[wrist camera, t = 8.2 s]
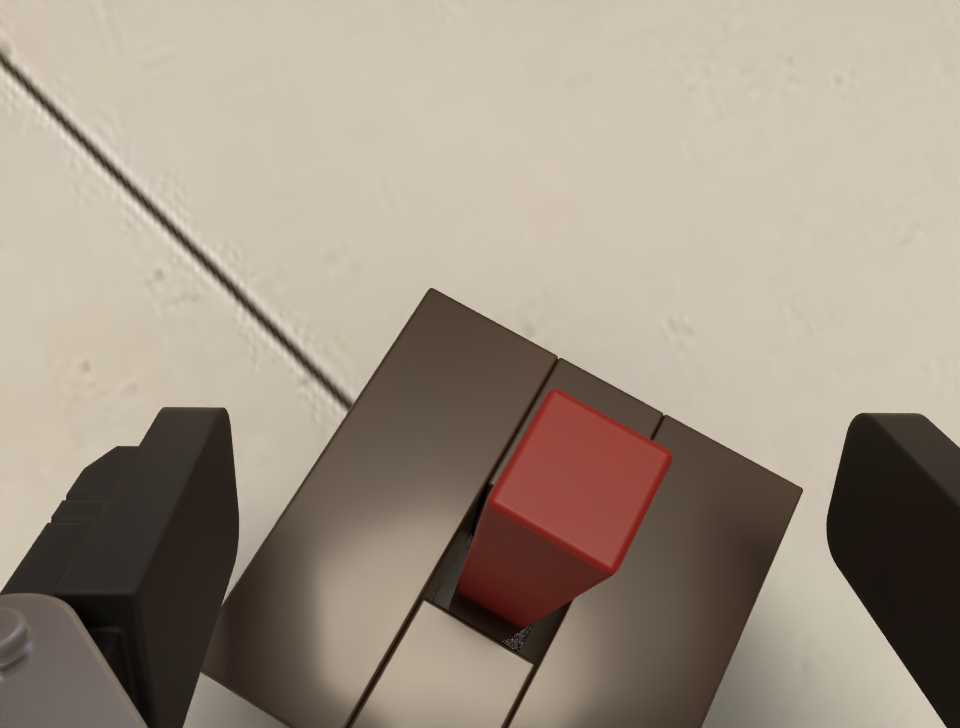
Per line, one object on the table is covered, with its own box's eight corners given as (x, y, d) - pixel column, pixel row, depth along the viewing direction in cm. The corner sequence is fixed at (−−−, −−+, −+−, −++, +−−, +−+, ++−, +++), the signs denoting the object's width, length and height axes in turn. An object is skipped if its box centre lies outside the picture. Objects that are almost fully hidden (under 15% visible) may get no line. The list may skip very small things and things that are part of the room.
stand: (717, 534, 20) (805, 488, 16) (563, 869, 18) (614, 932, 13) (428, 373, 21) (430, 285, 17) (242, 669, 19) (183, 662, 14)
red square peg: (532, 587, 20) (679, 451, 9) (502, 643, 19) (615, 578, 8) (477, 555, 20) (552, 381, 9) (447, 611, 19) (483, 503, 8)
